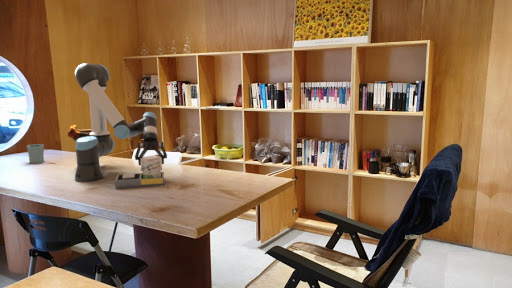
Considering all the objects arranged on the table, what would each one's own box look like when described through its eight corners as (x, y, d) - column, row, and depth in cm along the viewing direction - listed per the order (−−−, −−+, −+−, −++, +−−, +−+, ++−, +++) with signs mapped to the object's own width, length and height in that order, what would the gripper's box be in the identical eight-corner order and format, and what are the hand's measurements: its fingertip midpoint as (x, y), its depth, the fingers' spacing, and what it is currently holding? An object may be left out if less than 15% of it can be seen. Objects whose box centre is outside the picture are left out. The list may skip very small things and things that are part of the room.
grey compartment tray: (115, 189, 201) (115, 179, 200) (118, 182, 215) (117, 173, 214) (164, 185, 207) (164, 176, 206) (163, 179, 221) (163, 170, 220)
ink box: (147, 180, 207) (146, 158, 205) (142, 178, 211) (141, 157, 209) (161, 177, 213) (160, 156, 211) (156, 176, 217) (155, 155, 215)
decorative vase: (114, 166, 254) (108, 123, 249) (75, 173, 241) (69, 128, 236) (106, 161, 271) (100, 121, 266) (69, 167, 258) (63, 125, 253)
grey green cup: (40, 160, 278) (39, 143, 277) (48, 162, 273) (46, 145, 271) (25, 162, 270) (24, 145, 268) (32, 164, 264) (31, 147, 263)
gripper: (170, 139, 227) (172, 171, 215) (130, 140, 222) (130, 174, 209) (170, 130, 222) (172, 164, 209) (129, 132, 216) (129, 166, 204)
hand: (151, 169), depth 209 cm, fingers closed on ink box, 9 cm apart
